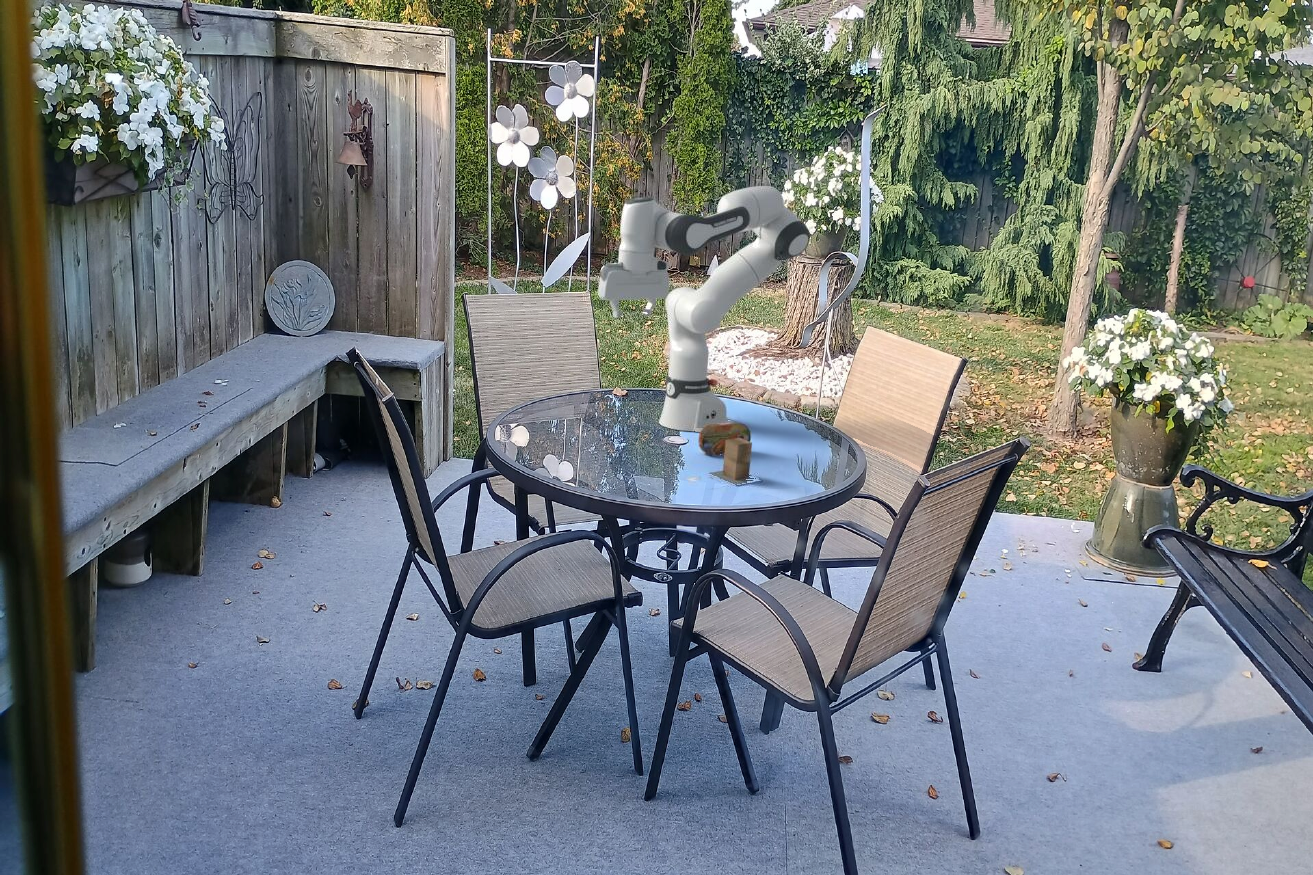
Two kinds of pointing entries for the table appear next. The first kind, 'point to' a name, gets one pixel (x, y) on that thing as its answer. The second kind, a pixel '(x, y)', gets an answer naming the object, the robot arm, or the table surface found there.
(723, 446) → the tin
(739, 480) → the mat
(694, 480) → the placard
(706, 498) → the table surface
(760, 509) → the table surface
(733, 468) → the walnut block
